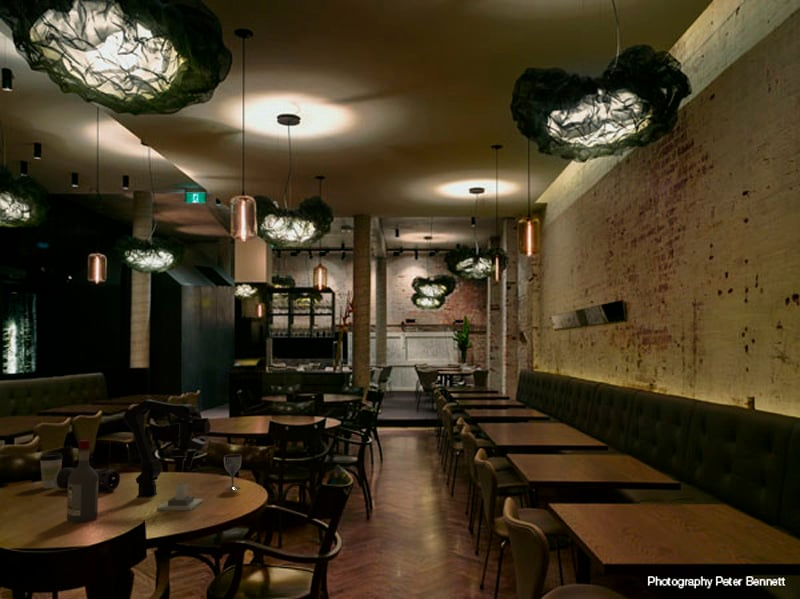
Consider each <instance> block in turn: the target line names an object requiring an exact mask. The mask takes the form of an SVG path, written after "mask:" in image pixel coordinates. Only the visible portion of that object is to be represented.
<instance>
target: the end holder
mask: <svg viewBox="0 0 800 599" xmlns="http://www.w3.org/2000/svg"><path fill="white" fill-rule="evenodd" d="M194 497H195V496H194V495H187V499H185V500H175V496H174V497H171V498H170V499H169V500H167V501H166V502H164V503H162V504H161V505H159V506H157V507H156V510H157V511H192V510H194V509H195V508H196V507H198V506H200V505H201V504H202V503H204V502H203V501H205V499H204V498H194ZM200 503H201V504H200ZM193 508H194V509H193Z"/></svg>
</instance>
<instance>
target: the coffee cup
mask: <svg viewBox="0 0 800 599" xmlns="http://www.w3.org/2000/svg"><path fill="white" fill-rule="evenodd" d="M63 459H64V456H63V454H62V452H61V453H60V452H53V453H52V452H51V453H45V454H41V456H40V458H39V461H40V473H41V480H42V489H53V488H54V489H55V488H58V487H57V486H56V485H55V483H54V477H55V474H56V473H57V471H58V470H60V469H62V466H63V465H62V462H63Z"/></svg>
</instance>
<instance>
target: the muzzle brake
mask: <svg viewBox="0 0 800 599" xmlns="http://www.w3.org/2000/svg"><path fill="white" fill-rule="evenodd" d="M75 469H76V467H63V468H61V469H60V470H58V471H57V473H56V474H55V477H54V483H55V485H56V486H57V487H56V488H59V489H61V490H68V478H69V475H70V474H71V473H72V472H73V471H74V470H75ZM93 469H94V468H93ZM94 470H95V471H96V472H97V474H98V476H99V477H98V493H114V491H115V490H116V489H117V488H118V486H119V484H120V481H121V475H120V472H119V471H118V470H116V469H97V468H96V469H94Z"/></svg>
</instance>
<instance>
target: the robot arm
mask: <svg viewBox="0 0 800 599" xmlns="http://www.w3.org/2000/svg"><path fill="white" fill-rule="evenodd" d="M150 410H152V411H157V412H163V413H168V414H171V415H173V416H175V417H177V419H176V420H175V421H174V423H175V424H178V425H179V427H178V436H177V440H178V445H176V448H173V449H172V450H171V451H170V452H169V453H170V457H171V459H173V461H174V463H175V465H176V466H177V469H178V471H179V472H183V471H184V464H185V462H186V465H187V468H191V467H192V464H193V460H194V457H195V455H196V454H197V453H198V452H202V451H203V450H205V447H206V446H207V441H206V438H205V437H200V439H199V438H196V435H195V434H199V435H200V434H203V435H207V434H209V433H210V431H211V423H210V421H209V418H208V417H202V418H201V417H200V416H199V414H198V413H197V411H196V409H195V407H194V405H193V404H190V403H185V404H184V403H183V404H182V403H181V404H174V403H171V402H170V403H169V402H165V401H160V400H154V399H152V398H150V399H145V400H143V401H142V402H140V403H139V404H137V405H136V406H133V407H132V408H130V409H127V410H125V413H124V414H123V418H124V421H125V423H126V425H127V426H128V427H129V428H130V429H131V431H132V432H133V437H134V440H135V443H136V446H137V449H138V452H139V456H140V460H141V462H140V474H139V475H138V476H137V477H136V478H135V482H136V484H138V488H137V489H138V492H137V493H138V495H136V498H152V497H154V496H155V495H157V494H158V493H157V484H156V481H157V480H158V477H159V476H160V474H161V472H162V468H163V465H162V464H161V461H160V459H159V458H157V459H156V458H155V457H154V456H153V451H152V450H151V446H150V443H149V439H148V436H147V433H146V429H145V420H146V419H145V415H146V414H147V413H149V411H150ZM185 460H186V461H185Z"/></svg>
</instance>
